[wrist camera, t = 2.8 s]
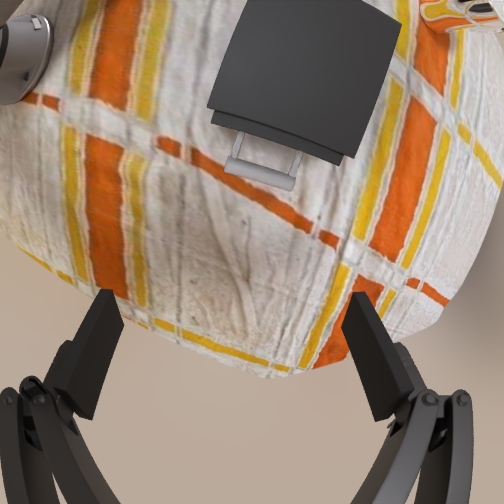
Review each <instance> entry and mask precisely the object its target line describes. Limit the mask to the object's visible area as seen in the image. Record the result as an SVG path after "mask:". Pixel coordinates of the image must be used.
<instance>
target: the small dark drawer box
mask: <svg viewBox="0 0 504 504" xmlns="http://www.w3.org/2000/svg"><path fill="white" fill-rule="evenodd" d="M401 26H402V24H401V23H399V22H398V21H396V20H395V19H393V18H391V17H390V16H388V15H387V14H385V13H383V12H382V11H380V10H378V9H377V8H375V7H373V6H371V5H369V4H368V3H366V2H364V1H362V0H248V1H247V3H246V5H245V7H244V10H243V12H242V14H241V17H240V19H239V21H238V23H237V26H236V28H235V31H234V33H233V36H232V38H231V40H230V43H229V46H228V48H227V51H226V53H225V56H224V59H223V61H222V64H221V67H220V69H219V72H218V75H217V78H216V81H215V84H214V86H213V89H212V92H211V95H210V98H209V101H208V104H207V108H210V109H214V110H218V111H222V112H225V113H229V114H233V115H236V116H240V117H243V118H246V119H250V120H253V121H256V122H259V123H263V124H266V125H269V126H272V127H275V128H278V129H281V130H283V131H286V132H289V133H292V134H294V135H297V136H300V137H303V138H305V139H308V140H310V141H313V142H315V143H318V144H320V145H323V146H325V147H328V148H330V149H332V150H335V151H337V152H339V153H342V154H344V155H346V156H348V157H351V158H353V159H354V158H355V155H356V153H357V150H358V148H359V145H360V143H361V140H362V138H363V135H364V133H365V130H366V128H367V125H368V123H369V120H370V117H371V115H372V112H373V109H374V107H375V104H376V101H377V99H378V96H379V93H380V90H381V88H382V85H383V82H384V79H385V76H386V73H387V70H388V67H389V64H390V61H391V58H392V55H393V52H394V49H395V46H396V43H397V39H398V36H399V33H400V29H401Z"/></svg>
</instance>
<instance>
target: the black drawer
mask: <svg viewBox="0 0 504 504" xmlns="http://www.w3.org/2000/svg"><path fill="white" fill-rule="evenodd" d="M211 123H212V124H216V125H220V126H224V127H227V128H231V129H235V130H238V134H237V137H236V141H235V144H234V147H233V150H232V153H231V157H230V156H228V158H227V162H226V165H225V168H224V172H227V173H231V174H234V175H238V176H241V177H245V178H248V179H252V180H255V181H258V182H262V183H265V184H268V185H271V186H274V187H278V188H281V189H284V190H287V191H292V189H293V188H294V185H295V181H296V178H295V177H294V176H295V174H296V171H297V169H298V166H299V164H300V161H301V158H302V156H303V153H307V154H310V155H312V156H315V157H317V158H320V159H322V160H325V161H327V162H330V163H332V164H335V165H337V166H340V163H341V161H342V158H343V156H344V154H342V153H339V152H337V151H335V150H332V149H330V148H328V147H325V146H323V145H320V144H318V143H315V142H313V141H310V140H308V139H305V138H303V137H300V136H297V135H294V134H292V133H289V132H286V131H283V130H281V129H278V128H275V127H272V126H269V125H266V124H263V123H259V122H256V121H253V120H250V119H246V118H243V117H240V116H236V115H233V114H229V113H225V112H222V111H218V110H215V111H214V114H213V117H212V120H211ZM245 133H248V134H251V135H255V136H258V137H261V138H264V139H267V140H270V141H273V142H276V143H279V144H282V145H285V146H288V147H291V148H293V149H296V150H297V151H296V154H295V157H294V159H293V162H292V165H291V167H290V170H289V172H288V174H285V173H282V172H279V171H276V170H273V169H270V168H267V167H264V166H260V165H257V164H254V163H251V162H247V161H244V160H241V159H237V155H238V152H239V149H240V146H241V143H242V140H243V137H244V134H245Z"/></svg>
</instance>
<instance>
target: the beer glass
mask: <svg viewBox="0 0 504 504" xmlns="http://www.w3.org/2000/svg"><path fill="white" fill-rule="evenodd" d="M420 14H421V16H422V18H423V20H424V22H425V23H426V25H427V26H428V27H429V28H430V29H431V30H432V31H434V32H435V33H438V34H441V35H444V34H447V33H449V32H451V31H454V30H465V31H473V32H481V33H499V32H504V0H432V1H424V2H422V3H421V5H420Z"/></svg>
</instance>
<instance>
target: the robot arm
mask: <svg viewBox="0 0 504 504" xmlns="http://www.w3.org/2000/svg"><path fill="white" fill-rule="evenodd" d="M23 1H24V0H0V105H9V104H14V103H17V102H19V101H20V100H22V99H23V98H25V97H26V96H27V95H28V94H29V93H30V92H31V91H32V90H33V88H34V87H35V86H36V85H37V83H38V82H39V80H40V78H41V77H42V75H43V73H44V71H45V69H46V67H47V64H48V62H49V59H50V56H51V53H52V48H53V43H54V30H53V26H52V23H51V21H50V20H49V19H48V18H47V17H45V16H42V15H39V14H27V15H23V16H18V17H14V18H10V17H11V15H12V14H13V13H14V11H15V10H16V9H17V8H18V7H19V5H20V4H21V3H22V2H23ZM9 18H10V19H9ZM123 327H124V323H123V320H122V318H121V315H120V312H119V309H118V306H117V303H116V300H115V296H114V293H113V290H111V289H100V291H99V293H98V294H97V296H96V298H95V300H94V301H93V303H92V305H91V307H90V309H89V310H88V312H87V314H86V316H85V318H84V320H83V322H82V323H81V325H80V327H79V329H78V331H77V333H76V335H75V337H74V339H73V341H70V340H66V341H65V342H64V343H63V344H62V345H61V346H60V347H59V349H58V352H57V354H56V356H55V358H54V360H53V363H52V364H51V366H50V368H49V371H48V373H47V375H46V377H45V379H44V382H43V383H42V382H41V381H40V380H39V379H38V378H37V377H36V376H28V377H26V378H24V379H23V381H22V382H21V384H20V387H19V392H20V393H17V391H16V390H15V389H13V388H12V387H8V388H5V389H4V390H3V391H2V392H1V394H0V460H1V468H2V476H3V482H4V488H5V493H6V498H7V502H8V504H60V502H59V499H58V495H57V491H56V488H55V484H54V480H53V476H52V473H53V475H54V478H55V480H56V482H57V484H58V486H59V488H60V490H61V492H62V494H63V496H64V498H65V500H66V502H67V504H120V502H119V501H118V499H117V498H116V496H115V495H114V493H113V492H112V490H111V489H110V487H109V485H108V484H107V482H106V480H105V479H104V477H103V475H102V474H101V472H100V470H99V469H98V467H97V465H96V463H95V461H94V459H93V457H92V456H91V454H90V452H89V450H88V448H87V446H86V444H85V442H84V440H83V438H82V435H81V433H80V431H79V429H78V426H77V424H76V422H75V420H74V418H73V413H74V412H75V413H76V414H77V415H78V416H79V417H81V418H85V419H88V420H92V419H93V416H94V412H95V409H96V405H97V402H98V399H99V396H100V392H101V389H102V386H103V383H104V380H105V377H106V374H107V371H108V368H109V365H110V362H111V359H112V357H113V354H114V351H115V348H116V346H117V343H118V340H119V337H120V335H121V332H122V330H123ZM341 329H342V331H343V334H344V336H345V339H346V341H347V344H348V347H349V349H350V352H351V355H352V357H353V360H354V362H355V365H356V368H357V371H358V373H359V376H360V379H361V382H362V385H363V387H364V390H365V393H366V396H367V399H368V402H369V405H370V408H371V411H372V414H373V417H374V420H375V422H377V421H381V420H385V419H388V418H389V417H390V416H391V415H392V414H393V413H394V415H395V417H396V418H395V419H394V420H393V421H392V422H391V423H390V424H389V425H388V426H387V428H389V427H391V428H390V430H389V432H388V435H387V437H386V439H385V441H384V444H383V446H382V448H381V450H380V452H379V454H378V456H377V458H376V460H375V462H374V464H373V466H372V468H371V470H370V472H369V473H368V475H367V477H366V479H365V481H364V482H363V484H362V486H361V487H360V489H359V491H358V492H357V494H356V496H355V497H354V499H353V500H352V502H351V504H405V502H406V500H407V498H408V496H409V494H410V492H411V489H412V487H413V485H414V483H415V480H416V478H417V476H418V473H419V471H420V477H419V482H418V488H417V493H416V497H415V502H414V504H469V497H470V490H471V481H472V470H473V445H474V444H473V442H474V440H473V439H474V437H473V411H472V400H471V397H470V395H469V394H468V393H467V392H466V391H465V390H462V389H461V390H457V391H455V392H454V393H453V394H452V395H451V396H448V395H443V396H441V395H438V394H437V393H436V392H435V391H433V390H431V389H427V387H426V386H425V384H424V381H423V379H422V377H421V375H420V373H419V371H418V369H417V367H416V366H415V365H414V361H413V359H412V358H411V356H410V354H409V352H408V350H407V348H406V347H405V346H403V345H402V344H401V343H400V342H398V343H393V342H392V340H391V338H390V336H389V334H388V333H387V331H386V329H385V327H384V325H383V323H382V321H381V319H380V318H379V316H378V314H377V312H376V310H375V308H374V307H373V305H372V303H371V301H370V300H369V298H368V296H367V294H366V293H365V292H353V294H352V297H351V300H350V303H349V306H348V309H347V312H346V315H345V318H344V320H343V323H342V326H341ZM420 468H421V470H420Z"/></svg>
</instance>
